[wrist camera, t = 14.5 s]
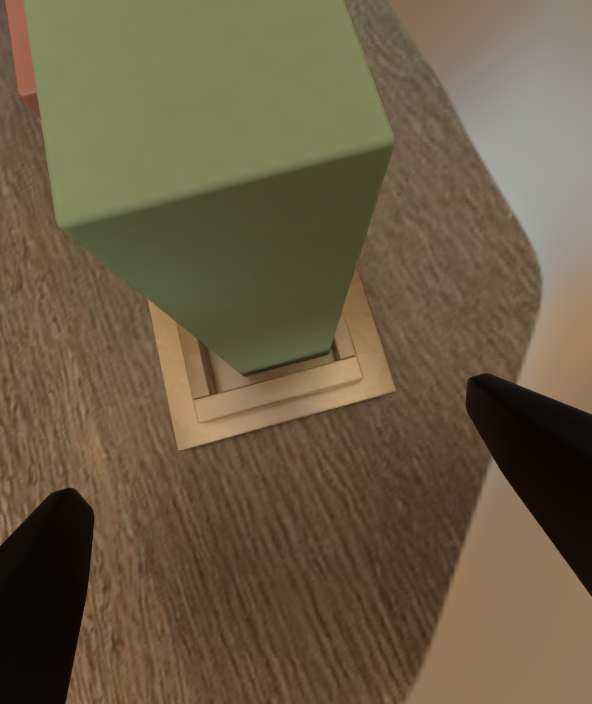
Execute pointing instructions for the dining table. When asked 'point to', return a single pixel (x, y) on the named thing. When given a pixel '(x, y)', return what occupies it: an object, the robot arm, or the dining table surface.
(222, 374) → the holder
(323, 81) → the tall sage green pillar
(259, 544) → the dining table surface
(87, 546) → the robot arm
